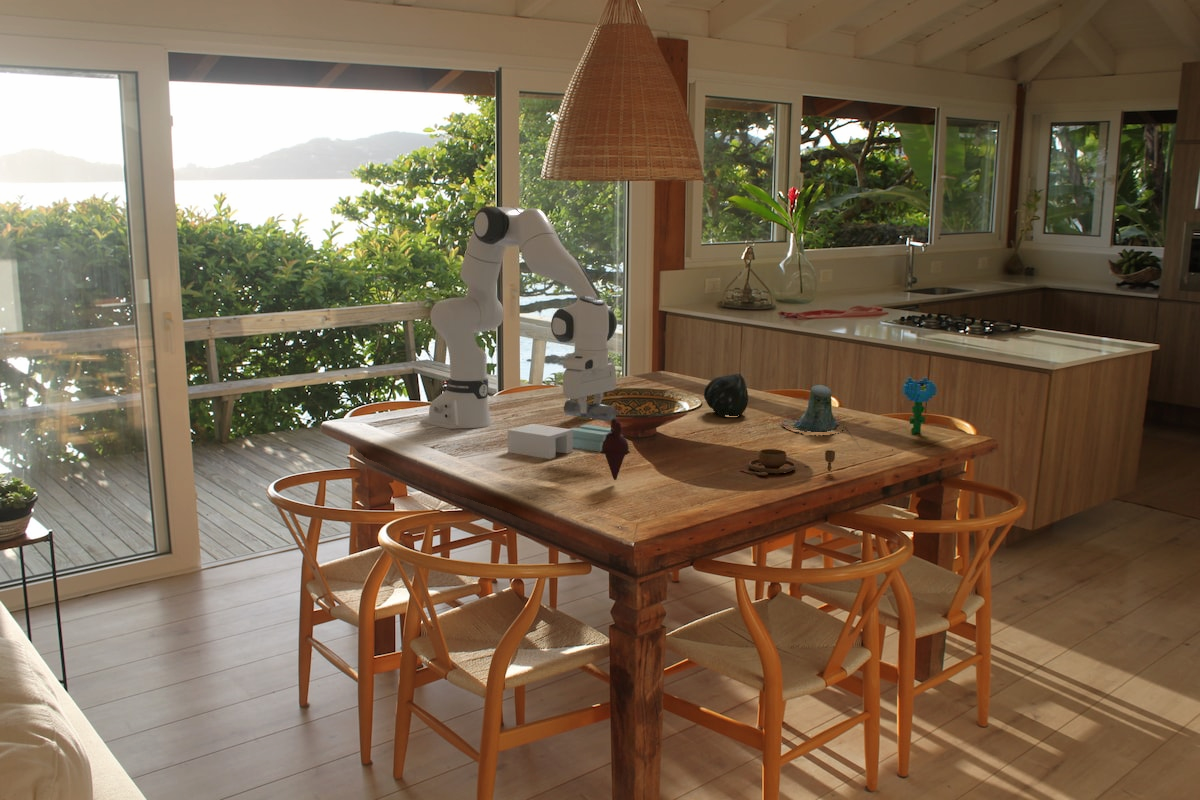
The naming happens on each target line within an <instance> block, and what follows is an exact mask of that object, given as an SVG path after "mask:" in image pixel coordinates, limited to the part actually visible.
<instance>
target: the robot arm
mask: <svg viewBox="0 0 1200 800" xmlns="http://www.w3.org/2000/svg"><path fill="white" fill-rule="evenodd" d="M472 226H473V230H472V233H471V235H470V237H469V240H468V242H467V246H466V249H465V253H464V255H463V261H462V264H461V269H460V272H459V274H460V275H459V276H460V278H461V280H462V281H463V283H464V284H465V285H466V286H467V287H466V288H467V290H466V294H465V296H464V297H452V298H451V297H449V298H446V299H444V300H441V301H438V302H435V303H434V305H433V307H432V308H431V310H430V322H431V325H432V327H433V328H434V330H435V331H436V332H437V333H438V334H439V335H440V336H441V338H443V340H444V343H445V345H446V347H447V351H448V356H449V373H450V374H449V376H450V377H449V379H446V380H443V381H442V382H443V384H442V385H444V386H445V385H446V386H445V387H446V388H445V390H444V391H443V392H442V393H441V394H440V395H438V396H437V397H436V398H435V399H433V400H432V401H431V402H430V404H429V409H428V416H424V417H422V418H421V419H420V421H421V423H424V424H426V425H427V424H428V425H431V426H434V427H440V428H444V429H447V430H453V429H454V430H455V429H477V428H484V427H488V426H491V425H493V421H492V417H491V413H490V407H489V400H488V399H489V398H488V395H489V393H488V392H489V379H488V377H487V374H488V373H487V370H488V369H487V368H488V366H487V364H488V361H487V359H488V358H487V353H486V351H485V349H483V348H482V347H481V346H479V345H478V344H477V340H476V338H475V333H485V332H488V331H492V330H494V329H496V328H498V327H499V326H500V325H502V323H503V320H504V318H505V317H504V316H505V310H504V308H503V304H502V303H501V302H500V300H499V299H498V293H497V284H498V279H499V275H500V271H501V267H502V264H503V261H504V255H505V253H506V252H505V251H506V249H507V247H519V249H520V252H521V256H522V258H523V261H524V263H525V264H526V266H527V267H528V268H529V270H530V271H531V272H532V273H533V274H535V275H537V276H539V277H542V278H546V279H550V280H553V281H555V282H556V281H557V282H559V283H561V284H563V285H566V286H567V287H569V288H570V289H571V290H572V292H573V294H575V297H576V299H577V300H576V301H575V302H574V303H572V304H570V305H568V306H565V307H561V308H559V309H557V310H556V311H555V312H554V313H553V316H552V317H551V322H550V327H551V328H550V329H551V333H552V335H553V337H554V338H555V339H556V340H557V341H558V342H559V343H564V344H574V351H573V352H572V353H571V354H570V355H569V356H567V357H566V358H565V359H564V360H563V361H562V367H563V369H565V370H564V372H563V375H562V393H563V396H564V398H565V399H567V400H577V399H578V403H579V405H580V412H581V413H588V412H589V406H587V403H586V401H587V396H591V395H594V396H595V398H594V402H593V403H594V404H601V403H602V400H603V397H604V393H606V392H610V391H615V389H616V387H617V371H616V366H615V364H614V360H613V358H612V357H611V355H610V356H609V344H608V341H610V339H612V337H613V336H614V334H615V332H616V330H617V328H618V327H617V325H618V322H617V321H618V320H617V317H616V315H615V313H614V311H613V310H612V308H611V307H610V306H609V305H608V304H607V302H606V300H605V299H604V298H602V296H601V294H600V292H599V290H598V289H597V287H596V286H595V284H594V282H593V281H592V279H591V277H590V276H589V274H588V273H587V272H586V269H585V267H584V266H583V265H582V264H581V262H579V261H578V259H576V257H574V256H573V255H572V254H570V253H569V252H568V250H567V249H566V248H565V247H564V245H563V243H562V242H561V241H560V238H559V235H558V233H557V232H556V229H555V228H554V226H553V224H552V222H551V220H550V219H549V218H548V216H547V215H546V214H545V212H543V210H541V209H539V208H535V207H532V208H531V207H530V208H526V209H525V208H521V207H514V206H500V207H499V206H493V205H490V206H489V205H488V206H485V207H482V208H480V209H479V210H478V211H477V212H476V213H475V216H474V219H473V224H472Z"/></svg>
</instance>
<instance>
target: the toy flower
mask: <svg viewBox="0 0 1200 800" xmlns="http://www.w3.org/2000/svg"><path fill="white" fill-rule="evenodd" d="M922 378H923V379H919V380H918V381H917V380H914V379H912V377H909V376H908V377H907V380H905V382H904V384H903V386H902V388H901V389H902V390H901V391H902V394H903V395H904V396H905V398H907V399H908V401H910V402H914V405H912V406H911V410H912V411H911V412H912V415H913V417H912V416H911V417H909V422H908V424H909V425H912V427H911V429H910V434H911V433H912V434H911V435H915V433H920V434H921V430H922V424H925V423H926V416H925V415H922V414H923V413H924V410H925V406H924V405H923V403H925V402H930V399H933V396H936V395H937V385H935V383H933V382H934V381H933V380H928V378H927V377H922Z"/></svg>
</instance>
